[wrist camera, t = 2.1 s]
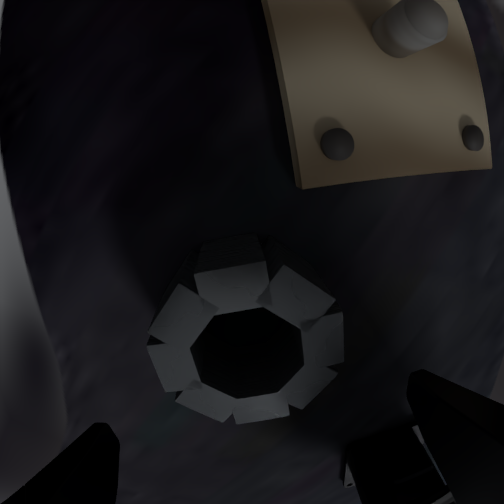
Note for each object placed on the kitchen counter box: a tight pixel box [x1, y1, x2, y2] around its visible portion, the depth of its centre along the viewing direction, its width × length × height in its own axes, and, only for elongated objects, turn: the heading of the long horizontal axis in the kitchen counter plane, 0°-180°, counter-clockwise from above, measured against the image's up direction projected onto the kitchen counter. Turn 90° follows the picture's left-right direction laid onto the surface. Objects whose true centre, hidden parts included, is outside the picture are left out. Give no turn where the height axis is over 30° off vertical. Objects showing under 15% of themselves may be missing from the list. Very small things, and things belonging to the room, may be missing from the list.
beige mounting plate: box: [261, 0, 492, 189], centre depth 8 cm, size 12×10×5 cm
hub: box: [146, 233, 344, 424], centre depth 12 cm, size 7×7×4 cm
